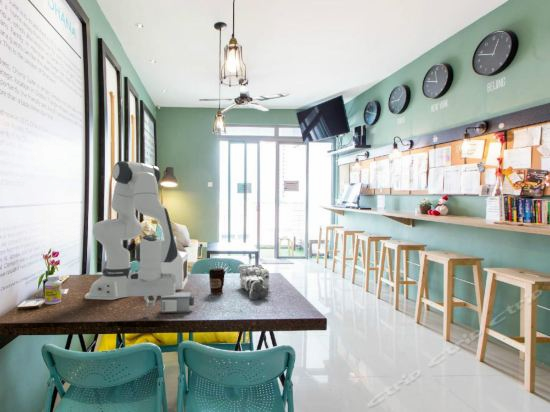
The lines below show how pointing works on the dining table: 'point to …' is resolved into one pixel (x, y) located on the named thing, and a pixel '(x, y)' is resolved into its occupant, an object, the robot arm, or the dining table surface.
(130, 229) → the robot arm
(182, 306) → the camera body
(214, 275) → the coffee cup
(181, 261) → the gable box
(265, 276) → the spaceship
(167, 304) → the side door
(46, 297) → the supplement bottle
